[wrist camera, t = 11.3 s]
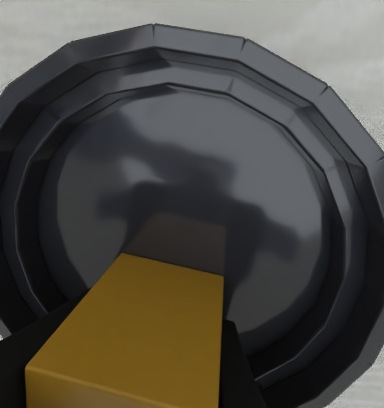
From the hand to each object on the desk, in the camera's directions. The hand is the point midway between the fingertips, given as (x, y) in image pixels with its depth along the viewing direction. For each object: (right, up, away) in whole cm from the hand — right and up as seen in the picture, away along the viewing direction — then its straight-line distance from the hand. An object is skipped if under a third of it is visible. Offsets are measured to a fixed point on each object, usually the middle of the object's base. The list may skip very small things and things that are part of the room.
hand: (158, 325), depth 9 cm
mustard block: (0, 0, +1) cm, 1 cm away
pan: (+1, +3, +1) cm, 3 cm away
